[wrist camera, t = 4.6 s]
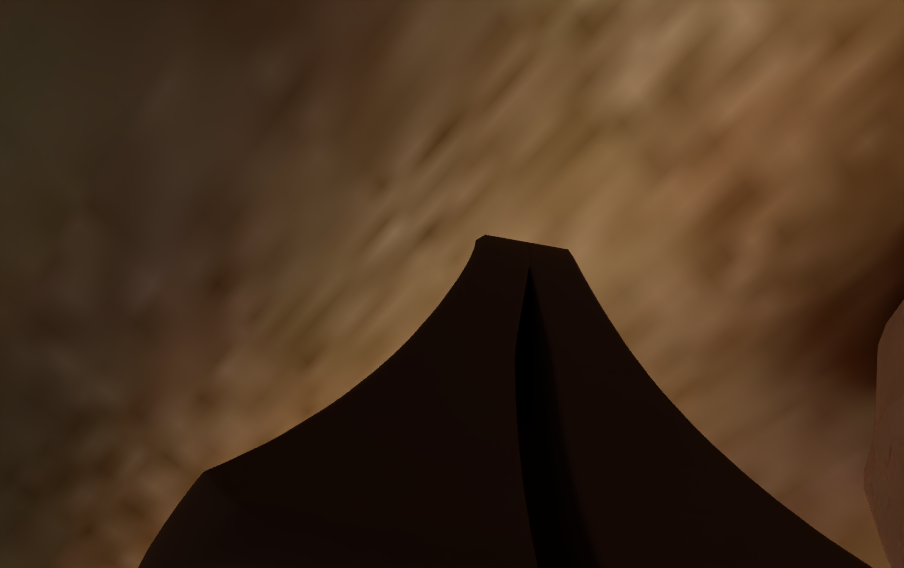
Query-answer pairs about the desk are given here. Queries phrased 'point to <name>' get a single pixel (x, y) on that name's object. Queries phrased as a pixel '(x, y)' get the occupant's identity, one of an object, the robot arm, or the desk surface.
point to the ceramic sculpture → (889, 442)
